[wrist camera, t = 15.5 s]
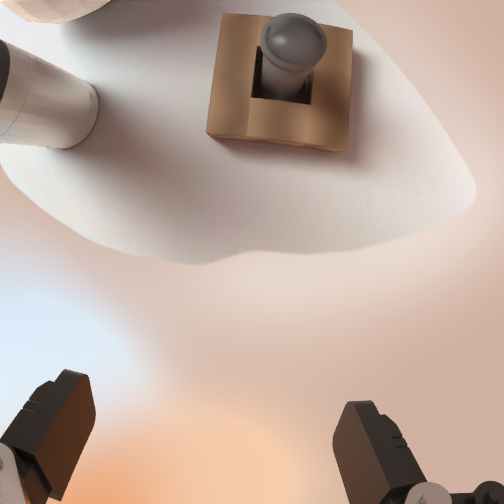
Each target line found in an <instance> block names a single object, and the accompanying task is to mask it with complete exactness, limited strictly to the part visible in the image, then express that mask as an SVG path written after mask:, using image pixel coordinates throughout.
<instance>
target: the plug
mask: <svg viewBox="0 0 504 504" xmlns="http://www.w3.org/2000/svg"><path fill="white" fill-rule="evenodd" d="M260 45H261V50H262V52H263V64H262V77H261V90H262V92H263V94H264V95H265V97H266V98H267V99H270V100H278V101H286V102H291V101H292V100H294V99H295V98H296V97H297V95H298V94H299V92H300V90H301V88H302V86H303V84H304V82H305V80H306V78H307V77H308V75H309V73H310V71H311V69H312V67H314V66H315V65H317V64H318V63H319V62H320V60H321V59H322V57H323V55H324V53H325V51H326V48H327V39H326V35H325V33H324V31H323V29H322V28H321V27H320V26H319V24H317V23H316V22H315V21H314V20H312V19H311V18H309V17H306V16H304V15H301V14H295V13H286V14H281V15H278V16H275V17H273V18H272V19H270V20H269V21H268V22H267V23H266V24H265V25H264V27H263V29H262V31H261V39H260Z"/></svg>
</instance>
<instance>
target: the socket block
mask: <svg viewBox="0 0 504 504" xmlns="http://www.w3.org/2000/svg"><path fill="white" fill-rule="evenodd" d="M272 18H273V17H269V16H259V15H246V14H226V13H223V17H222V23H221V29H220V35H219V41H218V48H217V54H216V61H215V68H214V75H213V82H212V89H211V97H210V105H209V112H208V121H207V129H206V133H207V134H208V135H209V136H210V137H211V138H221V139H234V140H245V141H255V142H265V143H274V144H282V145H290V146H298V147H305V148H312V149H319V150H325V151H331V152H339V151H342V150H345V149H346V146H347V135H348V122H349V109H350V93H351V74H352V45H353V30H348V29H344V28H339V27H335V26H330V25H324V24H319V23H317V24H319V26H320V27H321V28H322V29H323V31H324V33H325V35H326V39H327V48H326V51H325V53H324V55H323V57H322V59H321V60H320V62H319V63H318V64H317V65H315V66H314V67H312V69H311V71H310V73H309V75H308V83H307V95H306V104H301V103H294V102H286V101H278V100H270V99H261V98H252V95H253V86H254V77H255V69H256V60H257V59H261V60H263V52H262V50H261V45H260V39H261V31H262V29H263V27H264V25H265V24H266V23H267V22H268V21H269V20H270V19H272Z"/></svg>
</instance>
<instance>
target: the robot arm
mask: <svg viewBox="0 0 504 504" xmlns="http://www.w3.org/2000/svg"><path fill="white" fill-rule="evenodd" d="M98 106H99V103H98V97H97V94H96V91H95V90H94V88H93V87H92V86H91V85H90V84H89V83H88V82H86V81H84V80H82V79H80V78H78V77H76V76H74V75H73V74H71V73H69V72H67V71H65V70H63V69H61V68H59V67H57V66H55V65H53V64H51V63H49V62H47V61H45V60H43V59H41V58H39V57H37V56H35V55H33V54H31V53H29V52H26V51H24V50H22V49H20V48H18V47H15V46H13V45H11V44H9V43H7V42H5V41H2V40H0V143H10V144H22V145H32V146H42V147H50V148H59V149H67V148H70V147H73V146H75V145H77V144H79V143H80V142H81V141H82V140H84V139H85V137H86V136H87V135H88V134H89V133H90V131H91V129H92V128H93V126H94V124H95V121H96V119H97V114H98ZM95 416H96V412H95V406H94V401H93V396H92V391H91V386H90V381H89V377H88V375H86V374H83V373H79V372H74V371H71V370H67V369H65V370H63V371H62V372H61V374H60V375H59V376H58V378H57V379H56V380H55V382H52V381H48V382H46V383H44V384H43V385H41V386H39V387H38V388H37V389H36V390H35V391H34V393H33V394H32V395H31V397H30V398H29V401H27V402H26V403H25V405H24V406H23V409H21V410H20V412H19V413H18V414H17V416H16V417H15V419H14V420H13V421H12V423H11V424H10V426H9V427H8V428H7V430H6V431H5V433H4V434H3V436H2V437H1V439H0V504H46V502H47V499H48V497H50V498H53V499H56V500H58V501H61V500H62V497H63V495H64V492H65V490H66V488H67V485H68V483H69V481H70V478H71V476H72V474H73V471H74V469H75V466H76V464H77V462H78V460H79V457H80V455H81V453H82V451H83V449H84V446H85V444H86V442H87V440H88V438H89V435H90V433H91V431H92V429H93V427H94V423H95ZM333 451H334V454H335V458H336V461H337V464H338V467H339V471H340V474H341V477H342V480H343V484H344V487H345V490H346V493H347V496H348V500H349V503H350V504H504V486H503V485H502V484H500V483H498V482H495V481H486V482H483V483H481V484H480V485H479V486H478V487H477V488H476V489H475V491H474V492H473V493H458V494H457V493H455V494H450V493H449V492H448V491H447V490H446V489H445V488H444V487H442V486H441V485H439V484H436V483H432V482H427V480H426V478H425V476H424V475H423V473H422V471H421V469H420V467H419V465H418V463H417V461H416V460H415V458H414V456H413V454H412V452H411V450H410V449H409V447H407V443H406V441H405V439H404V438H402V434H401V432H400V430H399V428H398V426H397V425H396V424H395V423H394V422H393V421H392V420H391V419H390V418H389V417H387V416H386V415H385V414H384V415H380V414H379V412H378V410H377V408H376V406H375V405H374V403H373V402H372V401H370V400H369V401H349V402H347V404H346V405H345V408H344V410H343V413H342V415H341V418H340V420H339V423H338V425H337V427H336V430H335V432H334V435H333Z"/></svg>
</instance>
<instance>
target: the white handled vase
mask: <svg viewBox="0 0 504 504" xmlns="http://www.w3.org/2000/svg"><path fill="white" fill-rule="evenodd" d="M109 1H111V0H0V2H1V3H2V4H3V5H5V6H6V7H7V8H8V9H9V10H11V11H12V12H13V13H15V14H16V15H18V16H20V17H22V18H23V19H25V20H27V21H30V22H41V23H52V24H60V23H63V22H67V21H71V20H74V19H77V18H79V17H82V16H84V15H86V14H88V13H91V12H93V11H95V10H97V9H99V8H100V7H102V6H103V5H105V4H106V3H108V2H109Z"/></svg>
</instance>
